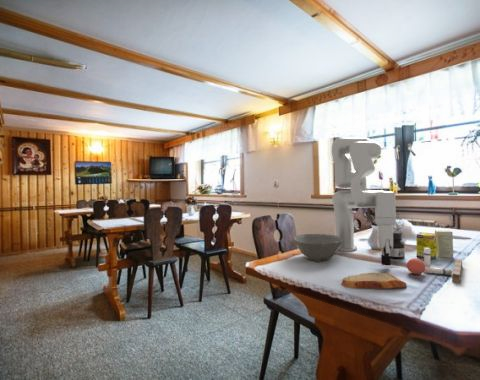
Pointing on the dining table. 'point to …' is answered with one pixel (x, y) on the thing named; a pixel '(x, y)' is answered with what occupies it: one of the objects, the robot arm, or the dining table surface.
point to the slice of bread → (373, 281)
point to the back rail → (457, 271)
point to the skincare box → (444, 243)
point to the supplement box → (426, 244)
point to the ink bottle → (397, 246)
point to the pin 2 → (438, 271)
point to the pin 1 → (427, 257)
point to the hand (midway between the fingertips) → (385, 264)
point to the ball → (415, 266)
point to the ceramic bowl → (318, 245)
